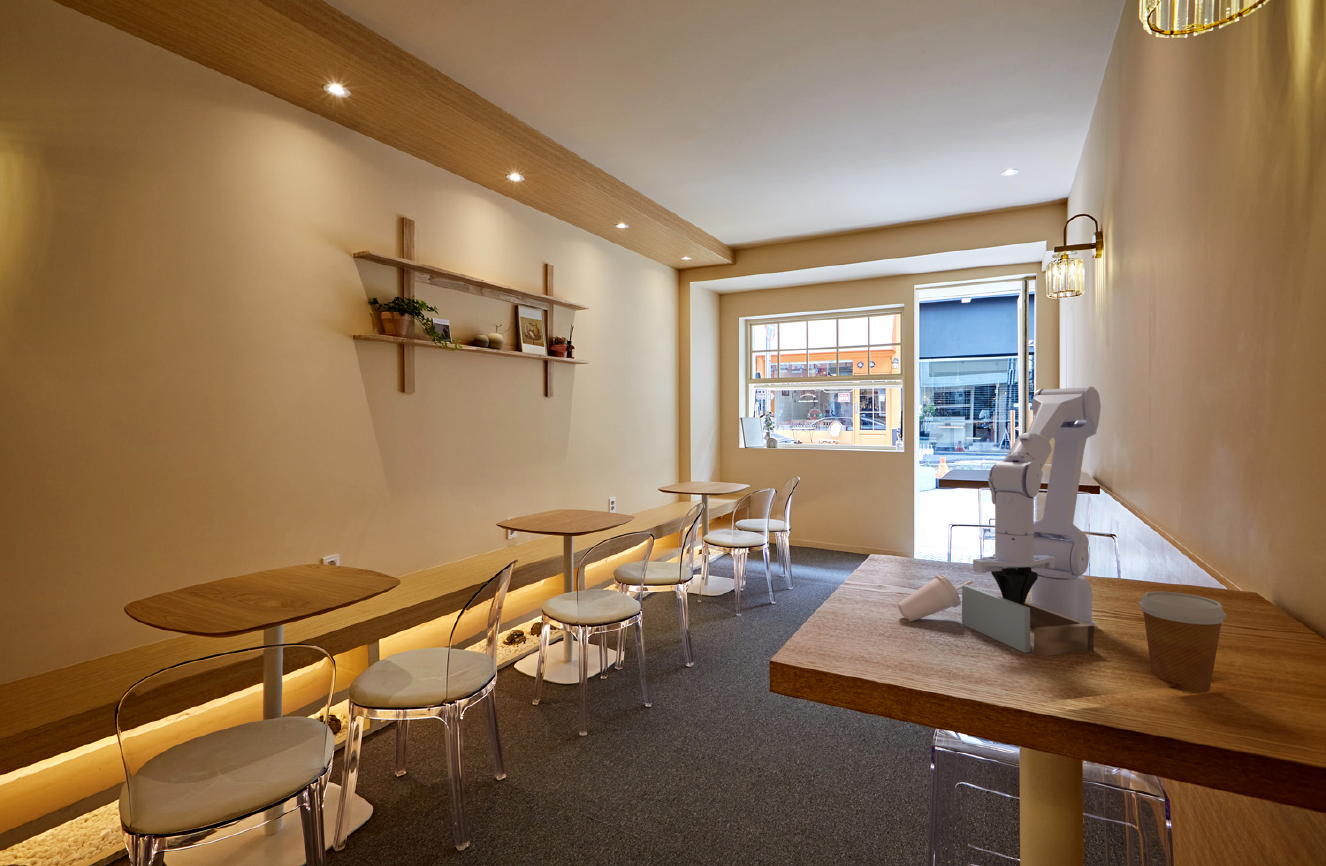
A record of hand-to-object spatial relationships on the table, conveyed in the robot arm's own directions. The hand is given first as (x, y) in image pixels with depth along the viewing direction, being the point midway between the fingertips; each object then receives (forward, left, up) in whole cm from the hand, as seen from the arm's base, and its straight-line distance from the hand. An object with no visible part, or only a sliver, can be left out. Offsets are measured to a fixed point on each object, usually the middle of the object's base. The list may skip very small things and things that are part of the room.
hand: (1013, 612), depth 106 cm
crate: (-2, 0, -5) cm, 5 cm away
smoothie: (+13, -12, -3) cm, 18 cm away
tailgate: (+3, 0, -4) cm, 5 cm away
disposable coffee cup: (-10, +20, -5) cm, 23 cm away
